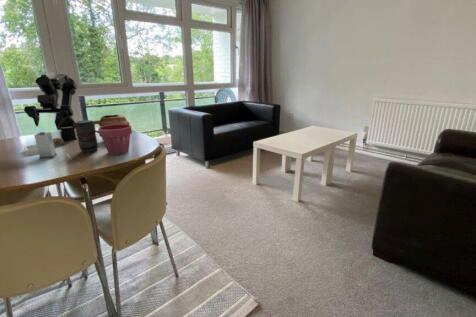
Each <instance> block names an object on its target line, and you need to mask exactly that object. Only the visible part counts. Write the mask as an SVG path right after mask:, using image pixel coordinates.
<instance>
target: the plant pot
mask: <svg viewBox="0 0 476 317" xmlns="http://www.w3.org/2000/svg"><path fill="white" fill-rule="evenodd" d="M97 129H98V130H97V131H99V133H98V135H99V137H101V139H102V142H103V143H104V146H105V148H106V149H105V150H107V153H108V155H111V156H120V155H125V154H127V153H129V150H130V140H131V135H132V131H133V130H132V126H131V125H130V124H129V125H127V124H113V125H105V126H101V127H100V126H99V127H98V128H97Z"/></svg>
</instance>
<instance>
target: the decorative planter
mask: <svg viewBox="0 0 476 317" xmlns="http://www.w3.org/2000/svg"><path fill="white" fill-rule="evenodd" d="M92 121H93V122H94V125H99V127H101V126H105V125H113V124H127V125H130V121H128V120H127V118H126V117H125V116H124V115H120V114H110V115H109V114H108V115H107V114H105V115H102V116H101V117H100V119H99V120H96V119H95V120H92ZM95 133H96V134H99V131H98V130H96V129H95Z"/></svg>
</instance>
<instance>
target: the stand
mask: <svg viewBox="0 0 476 317" xmlns="http://www.w3.org/2000/svg"><path fill="white" fill-rule="evenodd" d="M23 148H24V149H23V150H24V153H25V154H26V156H34V155H39V151H38V147H37V144H31V145H24V146H23Z"/></svg>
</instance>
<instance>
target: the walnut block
mask: <svg viewBox="0 0 476 317" xmlns="http://www.w3.org/2000/svg"><path fill="white" fill-rule="evenodd" d="M52 139H53V143H54V147H55V148H58V147H63V146H65V143H64V142H65V141H63V139H61V137H59V138H58V137H56V138H52Z"/></svg>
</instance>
